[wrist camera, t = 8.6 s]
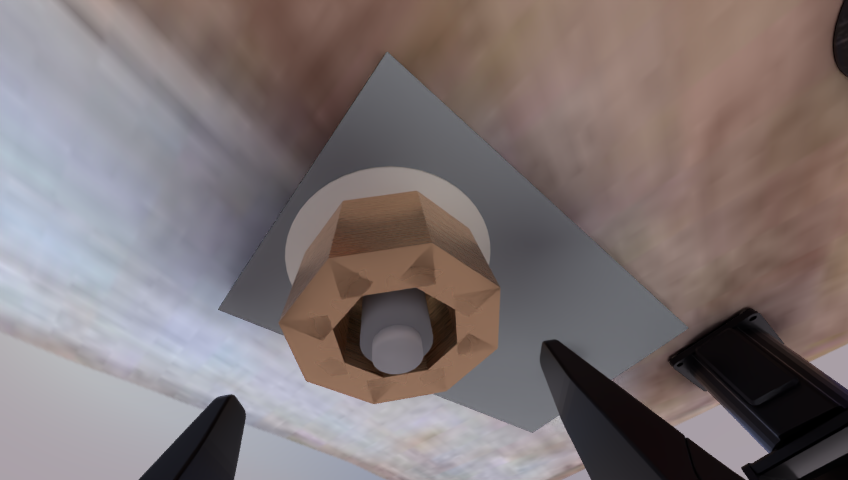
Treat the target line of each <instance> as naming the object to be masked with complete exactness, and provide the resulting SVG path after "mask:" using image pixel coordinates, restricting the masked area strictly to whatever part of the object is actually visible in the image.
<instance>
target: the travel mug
mask: <svg viewBox="0 0 848 480" xmlns="http://www.w3.org/2000/svg"><path fill="white" fill-rule="evenodd" d="M834 53H835V59H836V62H837V64H838V66H839V68H840V69H841V71H842V72H843V73H844V74H845V75H847V76H848V0H845V2H844V4H843V7H842V10H841V12H840V15H839V19H838V22H837V26H836V31H835V37H834Z"/></svg>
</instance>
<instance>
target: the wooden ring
mask: <svg viewBox="0 0 848 480" xmlns="http://www.w3.org/2000/svg"><path fill="white" fill-rule="evenodd" d="M409 288H418V289H420V290H421V291H423V292H425V297H426V302H427V307H428V312H429V318H430V323H431V328H432V333H433V344H432V346H431V348H430V350H429V351H428V353H427V354H426V355H425V356H423V360H422V362H421V363H420V365H419V366H417V367H416V368H415V369H413V370H411V371H409V372H406V373H402V374H388V373H384V372H382V371H380V370H378V369H377V368H376V367H375V366H374V365H373V362H372V361H370V360H369V359H368V358H366V357H365V356H364V354H363V353H362V351H361V349H360V332H361V317H362V302H363V296H365V295H371V294H377V293H384V292H390V291H397V290H403V289H409ZM499 310H500V286H499V284H498V282H497V280H496V278H495V276H494V275H493V273H492V271H491V269H490V267H489V265H488V263H487V261H486V259H485V257H484V256H483V254H482V252H481V250H480V248H479V246H478V244H477V242H476V240H475V238H474V237H473V235H472V233H471V231H470V229H469V228H468V227H467V226H465V225H464V224H462V223H461V222H460V221H458V220H457V219H456V218H454V217H453V216H451V215H450V214H449V213H447V212H446V211H445V210H443V209H442V208H440V207H439V206H438V205H436V204H435V203H434V202H432V201H431V200H429V199H428V198H427V197H425V196H424V195H423V194H421V193H420V192H418V191H410V192H403V193H396V194H388V195H381V196H374V197H367V198H359V199H352V200H345V201H342V203H341V204H340V205H339V207H338V208H337V210H336V211H335V212H334V214H333V215H332V216H331V218H330V219H329V220H328V222H327V223H326V225H325V226H324V227H323V229H322V230H321V231H320V233H319V234H318V235H317V237H316V238H315V240H314V241H313V242H312V244H311V245H310V246H309V248H308V249H307V250H306V252H305V254H304V257H303V259H302V262H301V264H300V267H299V270H298V272H297V275H296V278H295V280H294V283H293V286H292V288H291V291H290V294H289V296H288V299H287V301H286V304H285V307H284V309H283V312H282V315H281V317H280V320H279V325H280V328H281V330H282V332H283V334H284V336H285V338H286V340H287V342H288V344H289V346H290V348H291V351H292V353H293V355H294V357H295V359H296V361H297V363H298V365H299V367H300V369H301V372H302V374H303V376H304V378H305V380H306V381H307V382H310V383H313V384H316V385H319V386H322V387H325V388H328V389H331V390H334V391H337V392H340V393H343V394H346V395H349V396H352V397H355V398H357V399H360V400H363V401H366V402H369V403H372V404H377V403H383V402H388V401H394V400H400V399H405V398H411V397H417V396H422V395H428V394H434V393H439V392H445V391H447V390H448V389H450V388H451V387H452V386H453V385H454V384H456V383H457V382H458V381H459V380H460V379H462V378H463V377H464V376H465V375H466V374H468V373H469V372H470V371H471V370H472V369H474V368H475V367H476V366H477V365H479V364H480V363H481V362H482V361H483V360H485V359H486V358H487V357H488V356H489V355H491V354H492V353H493V352H494V351H495V350H497V349H498V333H499Z"/></svg>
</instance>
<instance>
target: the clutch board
mask: <svg viewBox="0 0 848 480" xmlns="http://www.w3.org/2000/svg"><path fill="white" fill-rule="evenodd" d="M410 191H418V192H420V193H421V194H423V195H424V196H425V197H427V198H428V199H429V200H431V201H432V202H434V203H435V204H436V205H438V206H439V207H440V208H442V209H443V210H445V211H446V212H447V213H449V214H450V215H451V216H453V217H454V218H456V219H457V220H458V221H460V222H461V223H462V224H464V225H465V226H467V227H468V228H469V229H470V231H471V233H472V235H473V237H474V238H475V240H476V242H477V244H478V246H479V248H480V250H481V252H482V254H483V256H484V257H485V259H486V261H487V263H488V265H489V267H490V269H491V271H492V273H493V275H494V276H495V278H496V280H497V282H498V284H499V286H500V310H499V333H498V349H497V350H495V351H494V352H493V353H492V354H491V355H489V356H488V357H487V358H486V359H485V360H483V361H482V362H481V363H480V364H479V365H477V366H476V367H475V368H474V369H472V370H471V371H470V372H469V373H468V374H466V375H465V376H464V377H463V378H462V379H460V380H459V381H458V382H457V383H456V384H454V385H453V386H452V387H451V388H450V389H448V390H447V391H445V392H439V393H434V394H435V395H437V396H440V397H442V398H445V399H447V400H450V401H453V402H455V403H458V404H460V405H463V406H465V407H468V408H470V409H473V410H475V411H478V412H481V413H483V414H486V415H488V416H491V417H493V418H496V419H498V420H501V421H504V422H506V423H509V424H511V425H514V426H516V427H519V428H521V429H524V430H527V431H529V432H532V433H533V432H535V431H536V430H538V429H539V428H541V427H542V426H544V425H545V424H547V423H548V422H550V421H551V420H553V419H554V418H556V417H557V416H559V413H558V410H557V407H556V405H555V402H554V400H553V397H552V394H551V392H550V389H549V386H548V384H547V381H546V379H545V376H544V373H543V371H542V368H541V365H540V352H541V346H542V342H543V341H546V340H552V339H556V340H559V341H560V342H561V343H563V344H564V345H565V346H567V347H568V348H569V349H571V350H572V351H573V352H575V353H576V354H577V355H579V356H580V357H581V358H583V359H584V360H585V361H587V362H588V363H589V364H590V365H592V366H593V367H594V368H596V369H597V370H598V371H600V372H601V373H602V374H604V375H605V376H606V377H608V378H609V379H610V380H612V379H614V378H615V377H617V376H618V375H620V374H621V373H623V372H624V371H626V370H627V369H629V368H630V367H632V366H633V365H635V364H636V363H637V362H639V361H640V360H642V359H643V358H645V357H646V356H648V355H649V354H651V353H652V352H654V351H655V350H657V349H658V348H660V347H661V346H663V345H664V344H666V343H667V342H669V341H670V340H672V339H673V338H675V337H676V336H678V335H679V334H681V333H682V332H684V331H685V330H687V329H688V327H687V326H686V325H685V324H684V323H683V322H682V321H680V320H679V319H678V318H677V317H676V316H675V315H674V314H673V313H672V312H671V311H670V310H668V309H667V308H666V307H665V306H664V305H663V304H662V303H661V302H660V301H659V300H658V299H656V298H655V297H654V296H653V295H652V294H651V293H650V292H649V291H648V290H647V289H646V288H644V287H643V286H642V285H641V284H640V283H639V282H638V281H637V280H636V279H635V278H634V277H632V276H631V275H630V274H629V273H628V272H627V271H626V270H625V269H624V268H623V267H622V266H620V265H619V264H618V263H617V262H616V261H615V260H614V259H613V258H612V257H611V256H610V255H608V254H607V253H606V252H605V251H604V250H603V249H602V248H601V247H600V246H599V245H598V244H596V243H595V242H594V241H593V240H592V239H591V238H590V237H589V236H588V235H587V234H586V233H585V232H583V231H582V230H581V229H580V228H579V227H578V226H577V225H576V224H575V223H574V222H573V221H571V220H570V219H569V218H568V217H567V216H566V215H565V214H564V213H563V212H562V211H561V210H559V209H558V208H557V207H556V206H555V205H554V204H553V203H552V202H551V201H550V200H549V199H547V198H546V197H545V196H544V195H543V194H542V193H541V192H540V191H539V190H538V189H537V188H535V187H534V186H533V185H532V184H531V183H530V182H529V181H528V180H527V179H526V178H525V177H523V176H522V175H521V174H520V173H519V172H518V171H517V170H516V169H515V168H514V167H513V166H511V165H510V164H509V163H508V162H507V161H506V160H505V159H504V158H503V157H502V156H501V155H499V154H498V153H497V152H496V151H495V150H494V149H493V148H492V147H491V146H490V145H489V144H487V143H486V142H485V141H484V140H483V139H482V138H481V137H480V136H479V135H478V134H477V133H475V132H474V131H473V130H472V129H471V128H470V127H469V126H468V125H467V124H466V123H465V122H463V121H462V120H461V119H460V118H459V117H458V116H457V115H456V114H455V113H454V112H453V111H451V110H450V109H449V108H448V107H447V106H446V105H445V104H444V103H443V102H442V101H441V100H439V99H438V98H437V97H436V96H435V95H434V94H433V93H432V92H431V91H430V90H429V89H427V88H426V87H425V86H424V85H423V84H422V83H421V82H420V81H419V80H418V79H417V78H415V77H414V76H413V75H412V74H411V73H410V72H409V71H408V70H407V69H406V68H405V67H403V66H402V65H401V64H400V63H399V62H398V61H397V60H396V59H395V58H394V57H393V56H391V55H390V54H389V53H388V52H386V53H385V55H384V56H383V58H382V60H381V61H380V63H379V64H378V66H377V67H376V69H375V70H374V72H373V73H372V75H371V76H370V78H369V79H368V81H367V82H366V84H365V85H364V87H363V89H362V90H361V92H360V93H359V95H358V96H357V98H356V99H355V101H354V102H353V104H352V105H351V107H350V108H349V110H348V111H347V113H346V114H345V116H344V117H343V119H342V121H341V122H340V124H339V125H338V127H337V128H336V130H335V131H334V133H333V134H332V136H331V137H330V139H329V140H328V142H327V143H326V145H325V146H324V148H323V150H322V151H321V153H320V154H319V156H318V157H317V159H316V160H315V162H314V163H313V165H312V166H311V168H310V169H309V171H308V172H307V174H306V175H305V177H304V178H303V180H302V182H301V183H300V185H299V186H298V188H297V189H296V191H295V192H294V194H293V195H292V197H291V198H290V200H289V201H288V203H287V204H286V206H285V207H284V209H283V211H282V212H281V214H280V215H279V217H278V218H277V220H276V221H275V223H274V224H273V226H272V227H271V229H270V230H269V232H268V233H267V235H266V236H265V238H264V240H263V241H262V243H261V244H260V246H259V247H258V249H257V250H256V252H255V253H254V255H253V256H252V258H251V259H250V261H249V262H248V264H247V265H246V267H245V268H244V270H243V272H242V273H241V275H240V276H239V278H238V279H237V281H236V282H235V284H234V285H233V287H232V288H231V290H230V291H229V293H228V295H227V296H226V298H225V299H224V301H223V302H222V304H221V306H220V307H219V309H218V310H220V311H223V312H225V313H228V314H230V315H233V316H236V317H238V318H241V319H243V320H246V321H248V322H251V323H253V324H256V325H259V326H261V327H264V328H266V329H269V330H271V331H274V332H276V333H279V334H281V335H284V334H283V332H282V330H281V328H280V325H279V320H280V317H281V315H282V312H283V309H284V307H285V304H286V301H287V299H288V296H289V294H290V291H291V288H292V286H293V283H294V280H295V278H296V275H297V272H298V270H299V267H300V264H301V262H302V259H303V257H304V254H305V252H306V250H307V249H308V248H309V246H310V245H311V244H312V242H313V241H314V240H315V238H316V237H317V235H318V234H319V233H320V231H321V230H322V229H323V227H324V226H325V225H326V223H327V222H328V220H329V219H330V218H331V216H332V215H333V214H334V212H335V211H336V210H337V208H338V207H339V205H340V204H341V203H342V201H345V200H352V199H359V198H367V197H374V196H381V195H388V194H396V193H403V192H410ZM432 344H433V333H432V328H431V323H430V318H429V312H428V307H427V302H426V297H425V292H423V291H421V290H420V289H418V288H409V289H403V290H397V291H390V292H384V293H377V294H371V295H365V296H363V302H362V317H361V332H360V349H361V351H362V353H363V354H364V356H365V357H366V358H368V359H369V360H370V361H372V362H373V365H374V366H375V367H376V368H377V369H378V370H380V371H382V372H384V373H388V374H402V373H406V372H409V371H411V370H413V369H415V368H416V367H417V366H419V365H420V363H421V362H422V360H423V356H425V355H426V354H427V353H428V351H429V350H430V348H431V346H432Z"/></svg>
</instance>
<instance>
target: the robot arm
mask: <svg viewBox="0 0 848 480" xmlns="http://www.w3.org/2000/svg"><path fill="white" fill-rule="evenodd" d="M669 363H670V365H671V366H672V367H673V368H674V369H675V370H677V371H678V372H679V373H681V374H682V375H683V376H685V377H686V378H687V379H689V380H690V381H691V382H693V383H694V384H695V385H697V386H698V387H699V388H701V389H702V390H703V391H708V392H709V393H710V394H711V395H712V396H713V397H714V398H715V399H716V400H717V401H718V402H719V403H720V404H721V405H722V406H723V407H724V408H725V409H726V410H727V411H728V412H729V413H730V414H731V415H732V416H733V417H734V418H735V419H736V420H737V421H738V422H739V423H740V424H741V425H742V426H743V427H744V428H745V429H746V430H747V431H748V432H749V433H750V434H751V436H752V437H754V439H755V440H756V441H757V442H758V443H759V444H760V445H761V446H762V447H764V449H765V450H766V451H767V452H768V453H769V454H767V455H765V456H764V457H762V458H760V459H759V460H757V461H755V462H754V463H748V464H746V465H745V466H743V467H741V468H742V470H743V472H744V473H745V475H746V476H747V477H748V479H749V480H848V390H847V389H846V388H845V387H843V386H842V385H840V384H839V383H838V382H836V381H835V380H833V379H832V378H831V377H829V376H828V375H826V374H825V373H823V372H822V371H821V370H819V369H818V368H816V367H815V366H814V365H812V364H811V363H809V362H808V361H807V360H805V359H804V358H802V357H801V356H800V355H798V354H797V353H795V352H794V351H792V350H791V349H790V348H788V347H787V346H785V345H784V343H783V342H782V340H781V339H780V338H779V337H778V335H777V334H776V333H775V332H774V330H773V329H772V328H771V327H770V325H769V324H768V323H767V322H766V320H765V319H764V318H763V317H762V315H761V314H760V313H758V312H757V311H755V310H754V309H749V310H746V311H744V312H743V313H741V314H740V315H738V316H737V317H735V318H734V319H732V320H730V321H729V322H727V323H726V324H724V325H723V326H721V327H720V328H718V329H717V330H715V331H714V332H712V333H710V334H709V335H707V336H706V337H704V338H703V339H701V340H700V341H698V342H697V343H695V344H693V345H692V346H690V347H689V348H687V349H686V350H684V351H683V352H681V353H680V354H678V355H677V356H675V357H673V358H672V359H671V360H670V361H669ZM540 365H541V368H542V371H543V373H544V376H545V379H546V381H547V384H548V386H549V389H550V392H551V394H552V397H553V400H554V402H555V405H556V407H557V410H558V413H559V415H560V418H561V420H562V422H563V424H564V426H565V428H566V430H567V432H568V434H569V436H570V438H571V440H572V442H573V444H574V446H575V448H576V450H577V452H578V454H579V456H580V458H581V460H582V462H583V464H584V466H585V468H586V470H587V472H588V474H589V476H590V478H591V480H745V479H744V478H742V477H741V476H739V475H738V474H736V473H735V472H733V471H732V470H731V469H729V468H728V467H727V466H725V465H724V464H722V463H721V462H720V461H718V460H717V459H716V458H714V457H713V456H712V455H710V454H709V453H707V452H706V451H705V450H703V449H702V448H701V447H699V446H698V445H697V444H695V443H694V442H693V441H691V440H690V439H689V438H685V436H684V435H683V434H682V433H681V432H679V431H678V430H676V429H675V428H674V427H673V426H671V425H670V424H669V423H667V422H666V421H665V420H663V419H662V418H661V417H659V416H658V415H657V414H655V413H654V412H653V411H651V410H650V409H649V408H647V407H646V406H645V405H644V404H642V403H641V402H640V401H638V400H637V399H636V398H634V397H633V396H632V395H630V394H629V393H628V392H626V391H625V390H624V389H622V388H621V387H620V386H618V385H617V384H616V383H614V382H613V381H612V380H610V379H609V378H608V377H606V376H605V375H604V374H602V373H601V372H600V371H598V370H597V369H596V368H594V367H593V366H592V365H590V364H589V363H588V362H587V361H585V360H584V359H583V358H581V357H580V356H579V355H577V354H576V353H575V352H573V351H572V350H571V349H569V348H568V347H567V346H565V345H564V344H563V343H561V342H560V341H559V340H556V339H552V340H546V341H543V342H542V346H541V352H540ZM245 419H246V413H245V410H244V408H243V407H242V405H241V404H240V402H239V401H238V399H237V398H236V397H235V396H234V395H232V394H231V395H224V396H219V397H217V398H216V399H214V400H213V401H212V402H211V403H210V404H209V406H208V407H207V408H206V409H205V410H204V411H203V412H202V413H201V414H200V415H199V416H198V417H197V418H196V419H195V420H194V422H192V424H191V425H190V426H189V427H188V428H187V429H186V430H185V431H184V432H183V433H182V434H181V435H180V436H179V437H178V438H177V439H176V440H175V442H174V443H173V444H172V445H171V446H170V447H169V448H168V449H167V450H166V451H165V452H164V453H163V454H162V455H161V457H159V459H158V460H157V461H156V462H155V463H154V464H153V465H152V466H151V467H150V468H149V469H148V470H147V471H146V472H145V473H144V474H143V475H142V477H141V478H140V479H139V480H234V476H235V472H236V467H237V461H238V457H239V451H240V445H241V440H242V435H243V429H244V424H245Z"/></svg>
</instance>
